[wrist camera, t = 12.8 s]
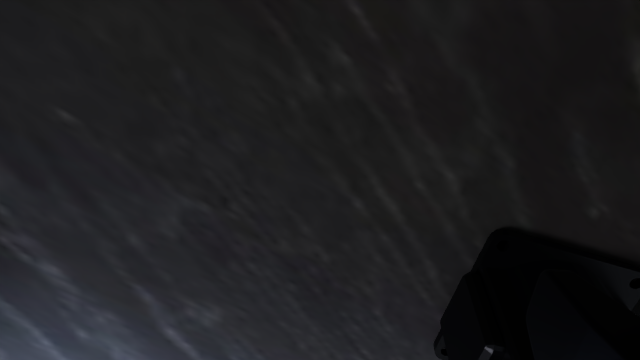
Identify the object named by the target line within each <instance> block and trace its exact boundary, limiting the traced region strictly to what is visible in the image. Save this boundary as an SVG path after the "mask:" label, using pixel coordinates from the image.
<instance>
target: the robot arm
mask: <svg viewBox="0 0 640 360" xmlns="http://www.w3.org/2000/svg"><path fill="white" fill-rule="evenodd" d="M502 240H507V243H506V244H505V245H502V246H498V245H497V244H498V243H499V242H500V241H502ZM635 278H638V279H637V280H636V281H635V282H632V283H631V281H632V280H633V279H635ZM639 299H640V268H639V267H636V266H633V265H629V264H626V263H622V262H619V261H615V260H612V259H608V258H605V257H601V256H598V255H594V254H591V253H587V252H584V251H580V250H577V249H573V248H570V247H566V246H563V245H559V244H556V243H552V242H548V241H545V240H541V239H538V238H534V237H531V236H527V235H524V234H520V233H517V232H513V231H510V230H506V229H499V230H496V231H494V232H492V233H491V234H490V236H489V237H488V239H487V241H486V243H485V245H484V247H483V249H482V251H481V252H480V254H479V256H478V258H477V260H476V262H475V264H474V266H473V268H472V270H471V272H469V273H467V274H465V275H464V276H463V277H462V279H461V281H460V283H459V285H458V287H457V289H456V291H455V293H454V295H453V297H452V299H451V301H450V303H449V305H448V306H447V308H446V310H445V312H444V314H443V316H442V318H441V320H440V324H441V330H440V332H439V334H438V336H437V337H436V339H435V341H434V350H435V354H436V356H437V357H438V358H439V359H442V360H640V317H639V316H638V315H636V314H635V313H633V312H632V309H633V308H634V306H635V305H636V303H637V302H638V301H639ZM444 347H446V349H442V348H444Z"/></svg>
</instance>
